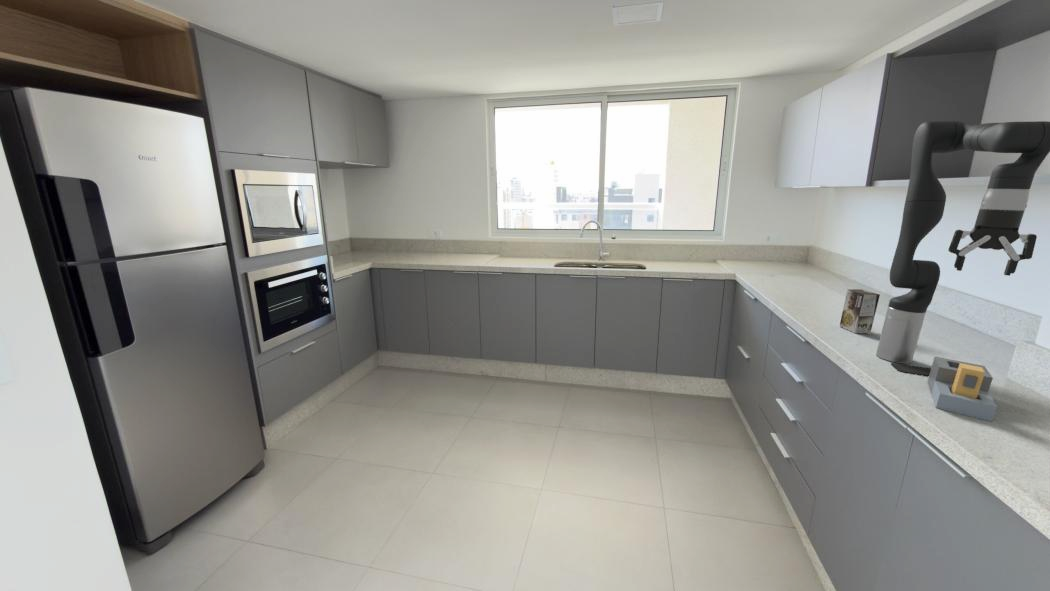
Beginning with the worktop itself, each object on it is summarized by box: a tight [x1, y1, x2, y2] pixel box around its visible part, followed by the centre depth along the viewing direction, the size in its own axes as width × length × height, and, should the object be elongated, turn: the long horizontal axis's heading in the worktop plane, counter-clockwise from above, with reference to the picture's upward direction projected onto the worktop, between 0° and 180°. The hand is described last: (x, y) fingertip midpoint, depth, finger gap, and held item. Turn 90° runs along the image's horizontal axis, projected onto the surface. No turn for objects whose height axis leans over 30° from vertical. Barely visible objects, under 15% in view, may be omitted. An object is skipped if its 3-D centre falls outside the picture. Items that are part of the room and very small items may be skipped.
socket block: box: [927, 356, 998, 422], centre depth 111 cm, size 20×10×8 cm, turn 141°
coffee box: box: [839, 288, 881, 334], centre depth 166 cm, size 9×6×16 cm
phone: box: [890, 362, 931, 377], centre depth 129 cm, size 7×1×15 cm
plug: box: [951, 363, 985, 399], centre depth 106 cm, size 5×4×10 cm
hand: (982, 272), depth 107 cm, fingers open, 8 cm apart
